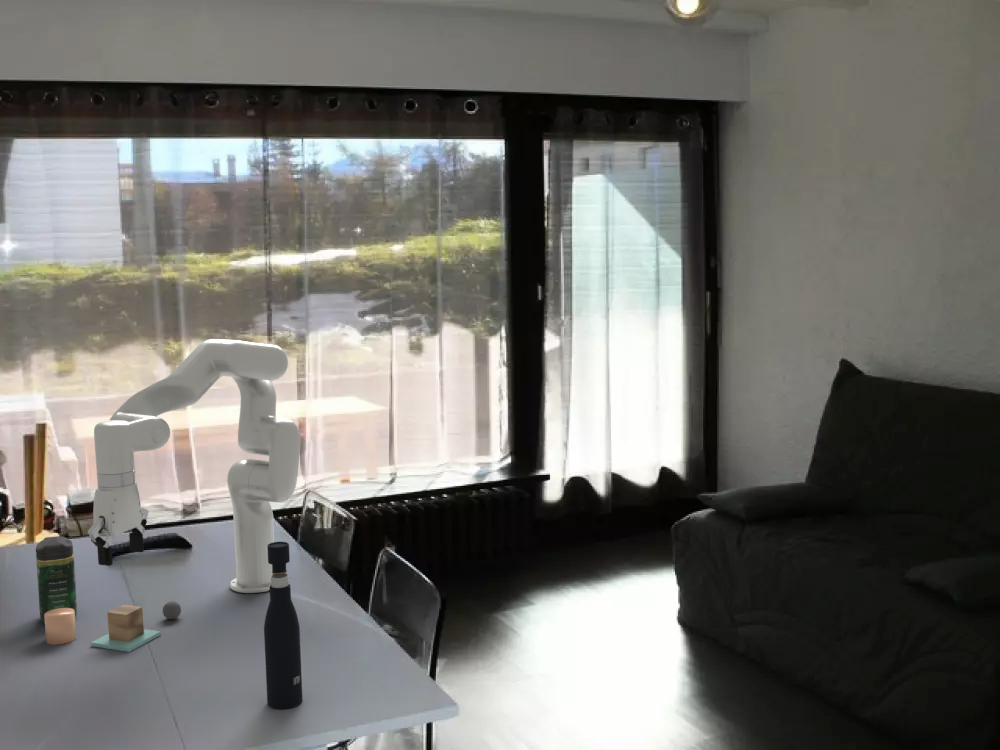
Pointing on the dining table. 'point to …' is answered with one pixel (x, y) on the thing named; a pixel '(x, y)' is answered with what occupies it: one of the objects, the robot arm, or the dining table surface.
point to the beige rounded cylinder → (60, 626)
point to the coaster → (126, 646)
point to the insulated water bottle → (282, 635)
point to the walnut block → (125, 623)
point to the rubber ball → (171, 610)
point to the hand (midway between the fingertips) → (121, 558)
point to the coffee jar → (56, 575)
